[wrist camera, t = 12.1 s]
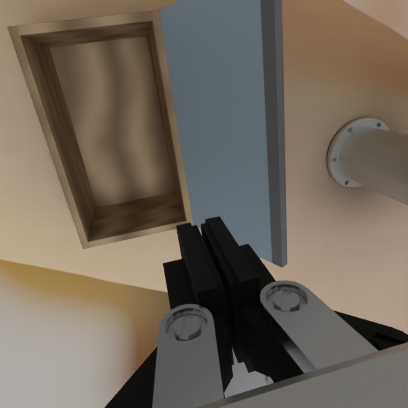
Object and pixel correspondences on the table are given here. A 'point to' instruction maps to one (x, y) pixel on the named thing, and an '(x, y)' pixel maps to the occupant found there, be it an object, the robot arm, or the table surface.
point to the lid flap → (231, 115)
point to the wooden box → (108, 122)
